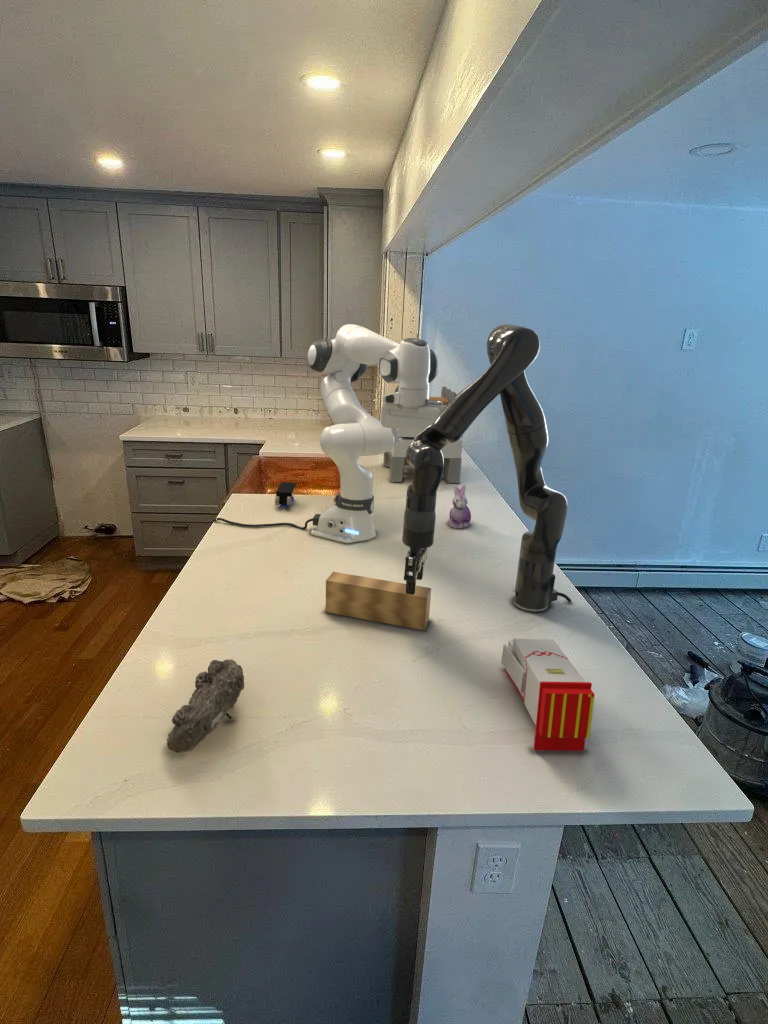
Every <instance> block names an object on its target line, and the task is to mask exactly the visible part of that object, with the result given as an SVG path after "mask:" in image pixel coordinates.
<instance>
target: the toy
mask: <svg viewBox="0 0 768 1024" xmlns="http://www.w3.org/2000/svg"><path fill="white" fill-rule="evenodd" d="M500 661H501V662H500V663H501V664H502V666H503V668H504V671H505V673H506V674H507V676H508V678H509V679H510V681H511V684H512V685H513V686H514V688H515V691H517V693H518V695H519V696H520V699H521V700H522V702H523V704H524V706H525V708H526V711H527V712H528V714H529V716H530V718H531V720H532V723H533V724H534V726H535V731H534V741H533V750H534V751H554V752H555V751H556V752H557V751H558V752H564V751H565V752H584V751H585V743H586V739H590V737H591V736H590V735H591V727H592V718H593V710H594V702H595V692H593V690H592V685H593V684H592V682H590V681H585V679H584V678H583V676H582V675H581V674H580V673H579V672H578V670H577V669H576V668H575V666H574V665H573V663H572V662H571V661H570V659H569V658H568V657H567V655H566V654H565V653H564V651H563V650H562V649H561V648H560V646H559V644H558V643H557V642H556V640H554V638H517V637H515V638H512V639H508V643H507V644H503V647H502V653H501V660H500Z"/></svg>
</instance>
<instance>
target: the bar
mask: <svg viewBox="0 0 768 1024" xmlns="http://www.w3.org/2000/svg"><path fill="white" fill-rule="evenodd" d="M431 598H432V587H428V586H420V585H416V587H415V593H414V595H411V594H407V593H406V583H405V582H398V581H391V580H385V579H379V578H373V577H367V576H362V575H355V574H349V573H344V572H338V571H332V572H331V574H330V575H329V576H328V577H327V578H326V580H325V613H328V614H329V613H330V614H334V615H339V616H345V617H351V618H355V619H360V620H365V621H372V622H378V623H383V624H389V625H393V626H399V627H403V628H408V629H415V630H420V631H425V630H426V628H427V626H428V623H429V620H430V609H431Z"/></svg>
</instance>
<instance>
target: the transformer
mask: <svg viewBox="0 0 768 1024" xmlns="http://www.w3.org/2000/svg"><path fill="white" fill-rule="evenodd" d="M398 386H399V384H398V385H397V386H396V388H395V390H394V392H398ZM440 393H441V394H440V396H429V400H434V401H441V402H442V403H443V404H444V405H445V407H446V406H447V405H448V403H449V402H450V401H451V400H452V399H453V398H454V397H455V396H456V395H457V392H455V391H453V390H452V389H451V388H447V386H442V387H441V392H440ZM441 405H442V404H441ZM420 433H421V432H415V431H408V430H400V429H399V431H398V434H399V437H400V438H402V440H401V441H402V443H401V444H395V442H394V446H393V448H392V449H391V450H390V451H389V452H386V453H383V466H384V467H388V468H389V475H388V476H389V477H388V478H389V480H390V482H391V483H402V482H403V475H404V469H405V466H406V467H407V466H410V465H409V464H408V462H407V460H406V451H407V449H408V447H409V445H410V443H411V442H412V441H413V440H414V439H415V438H416V437H417V436H418V435H419V434H420ZM463 438H464V434H463V435H462V436H461V438H460V439H459V440H458V441H457V442H455V443H449V444H447V445H446V446H445V447H443V448H442V449H441V452H442V454H443V457H444V470H443V474H442V477H443V478H444V479H445V481H446V482H447V483H449V484H455V483H456V484H459V483H461V472H462V461H463V460H462V453H463V442H464V441H463V440H462V439H463ZM410 467H411V466H410Z"/></svg>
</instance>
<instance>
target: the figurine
mask: <svg viewBox="0 0 768 1024" xmlns="http://www.w3.org/2000/svg"><path fill="white" fill-rule="evenodd" d="M466 489H467V485H465V484H463V485H462V486H461V488H460V489H459V488H458V486H457V485H454V486H453V491H454V492H453V493H454V496H453V498H452V505H453V506H452V508H450V510H449V515H448V516H449V518H448V524H449V526H450V527H451V528H454V529H462V528H467V527H469V526H470V523H471V519H472V513H471V510H470V508H469V507H468V503H469V502H468V498H467V496H466Z"/></svg>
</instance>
